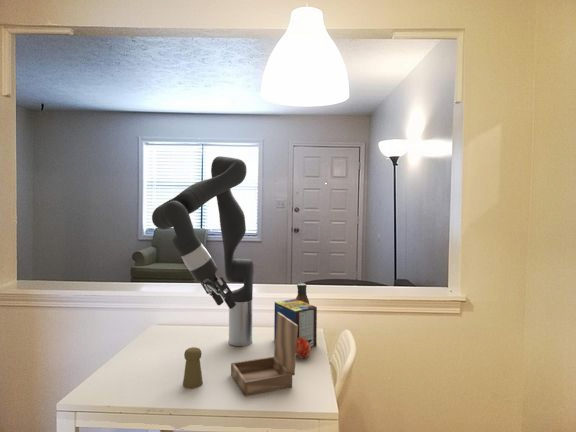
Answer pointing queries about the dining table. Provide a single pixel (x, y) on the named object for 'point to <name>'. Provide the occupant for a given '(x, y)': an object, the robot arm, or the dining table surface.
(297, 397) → the dining table surface
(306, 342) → the pomegranate
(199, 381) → the olive tapered rounded piece
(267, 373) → the walnut box
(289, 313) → the protein box
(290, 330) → the box lid
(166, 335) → the dining table surface
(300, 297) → the sauce bottle
